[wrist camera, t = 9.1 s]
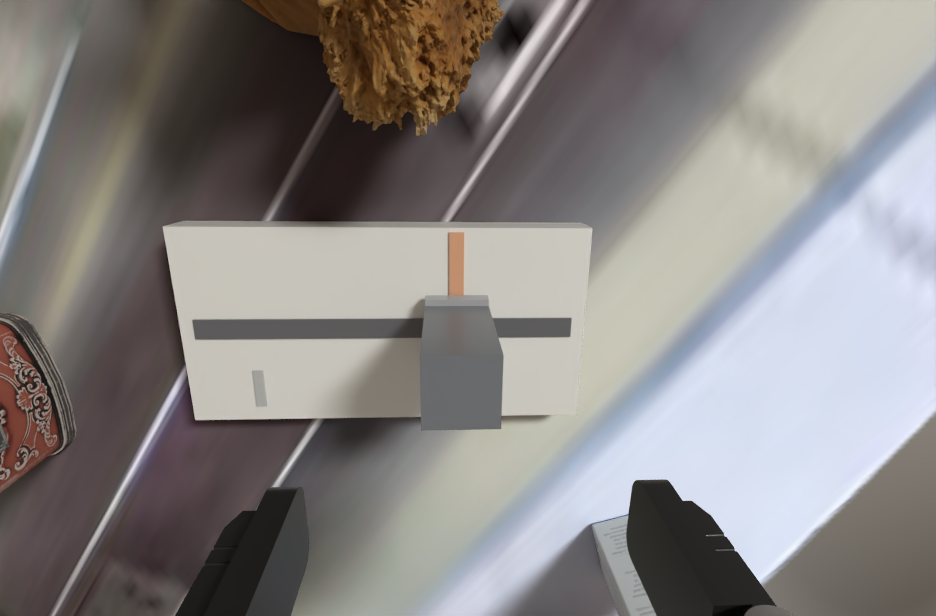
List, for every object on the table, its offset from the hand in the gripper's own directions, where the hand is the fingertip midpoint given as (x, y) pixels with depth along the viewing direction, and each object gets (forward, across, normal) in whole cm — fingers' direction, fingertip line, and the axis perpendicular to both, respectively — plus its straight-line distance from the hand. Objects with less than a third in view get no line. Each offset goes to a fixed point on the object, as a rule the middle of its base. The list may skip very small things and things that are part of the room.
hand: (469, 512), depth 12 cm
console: (+16, +3, 0) cm, 16 cm away
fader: (+13, 0, 0) cm, 13 cm away
